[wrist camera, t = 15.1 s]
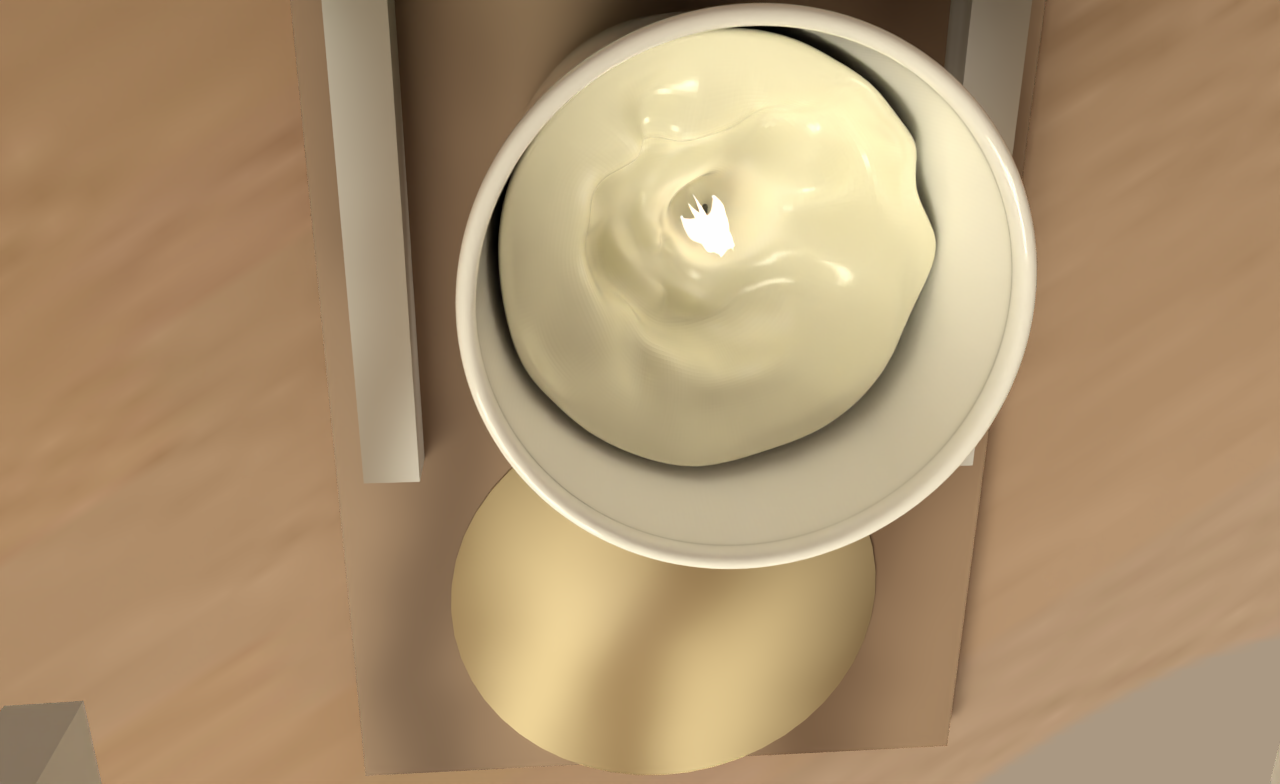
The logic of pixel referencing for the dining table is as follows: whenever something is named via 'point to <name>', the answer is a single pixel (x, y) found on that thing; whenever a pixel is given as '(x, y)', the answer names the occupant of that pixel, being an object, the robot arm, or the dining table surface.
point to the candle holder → (744, 284)
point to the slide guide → (521, 520)
